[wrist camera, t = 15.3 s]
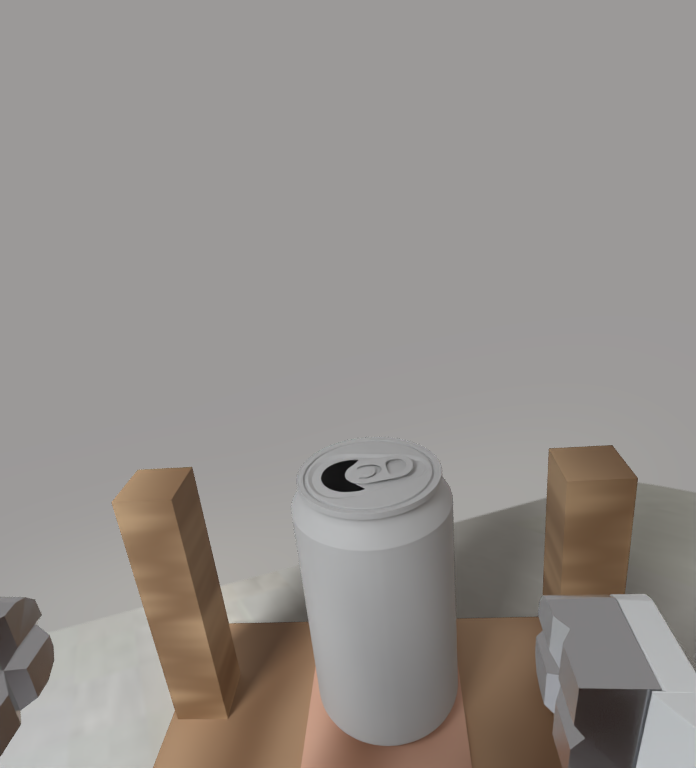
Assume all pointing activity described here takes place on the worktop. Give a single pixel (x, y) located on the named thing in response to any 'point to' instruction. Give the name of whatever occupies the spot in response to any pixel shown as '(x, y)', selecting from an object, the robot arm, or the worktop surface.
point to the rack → (295, 651)
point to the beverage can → (379, 586)
